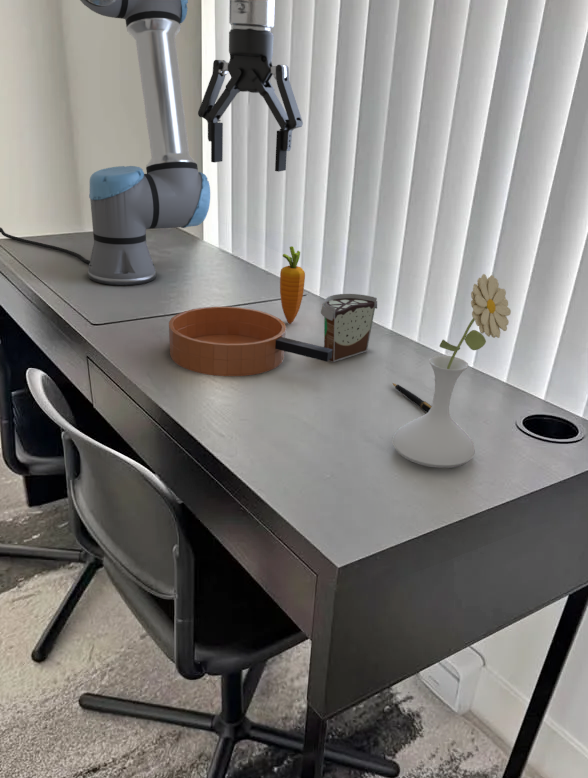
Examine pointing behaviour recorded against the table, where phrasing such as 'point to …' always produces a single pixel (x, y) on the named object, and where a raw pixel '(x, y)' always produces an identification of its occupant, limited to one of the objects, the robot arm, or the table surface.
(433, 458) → the flower in vase
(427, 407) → the fountain pen
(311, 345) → the pan handle
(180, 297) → the table surface
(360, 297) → the food container
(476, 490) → the table surface
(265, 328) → the pan
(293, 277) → the carrot
